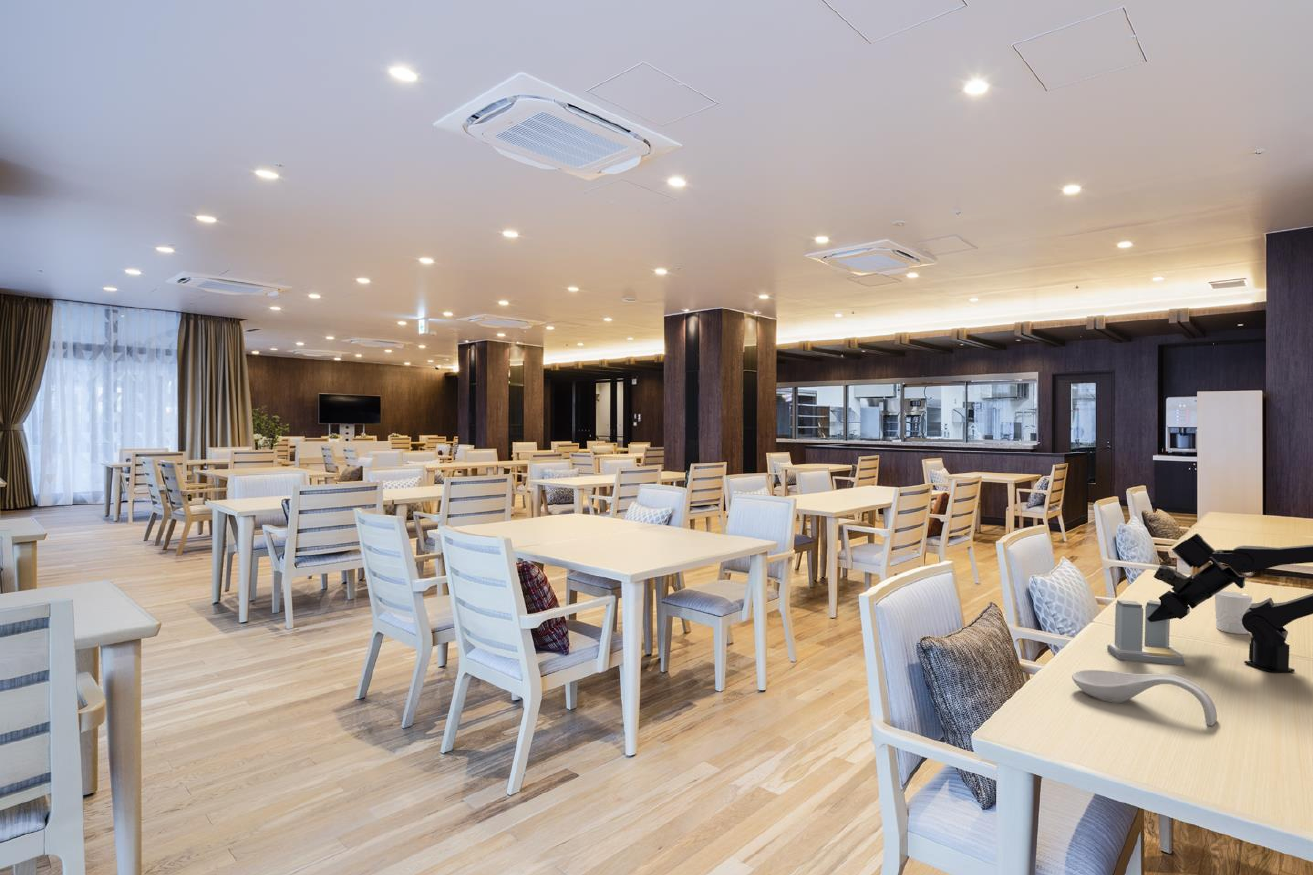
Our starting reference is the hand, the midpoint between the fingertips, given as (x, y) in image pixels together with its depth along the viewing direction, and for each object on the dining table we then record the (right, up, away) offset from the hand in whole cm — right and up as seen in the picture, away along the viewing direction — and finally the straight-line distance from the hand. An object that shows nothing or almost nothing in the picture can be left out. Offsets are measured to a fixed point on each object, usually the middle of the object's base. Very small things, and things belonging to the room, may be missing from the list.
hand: (1150, 618), depth 178 cm
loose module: (+1, -7, -1) cm, 7 cm away
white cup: (+32, -7, +14) cm, 36 cm away
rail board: (-9, -7, -10) cm, 15 cm away
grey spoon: (-30, -7, -39) cm, 49 cm away
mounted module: (-12, -5, -9) cm, 16 cm away
